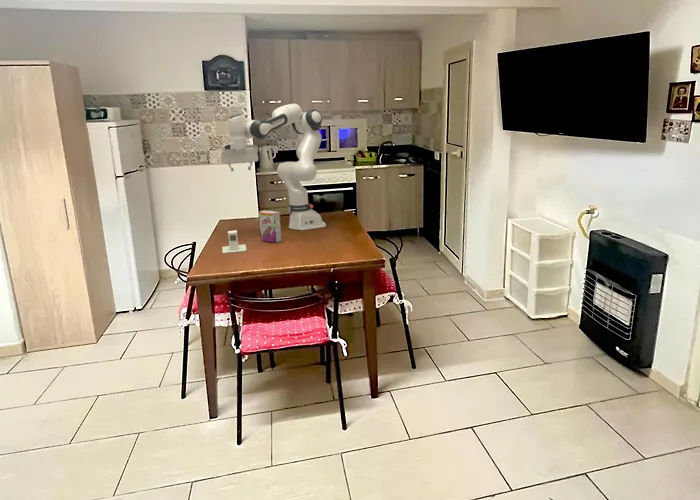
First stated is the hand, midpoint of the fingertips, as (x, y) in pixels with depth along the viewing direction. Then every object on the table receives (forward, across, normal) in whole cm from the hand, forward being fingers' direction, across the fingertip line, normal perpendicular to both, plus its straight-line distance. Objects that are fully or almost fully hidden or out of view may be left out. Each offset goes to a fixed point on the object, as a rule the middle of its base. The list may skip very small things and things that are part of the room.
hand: (241, 170), depth 270 cm
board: (+37, +8, +27) cm, 47 cm away
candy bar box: (+37, -12, +18) cm, 43 cm away
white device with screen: (+37, +8, +27) cm, 46 cm away
